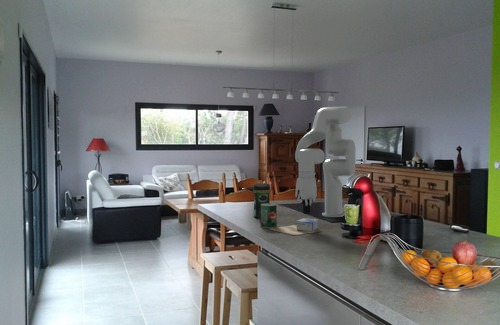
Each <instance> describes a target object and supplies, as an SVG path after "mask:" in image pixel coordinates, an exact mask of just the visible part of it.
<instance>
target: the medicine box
mask: <svg viewBox="0 0 500 325" xmlns="http://www.w3.org/2000/svg"><path fill="white" fill-rule="evenodd" d="M296 225H297V230H303V231H314V230H319V219H318V218H317V219H316V218H304V217H303V218H300V219H297V220H296Z"/></svg>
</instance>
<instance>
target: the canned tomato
mask: <svg viewBox="0 0 500 325" xmlns="http://www.w3.org/2000/svg"><path fill="white" fill-rule="evenodd" d="M277 209H278V208H277V203H273V202H271V203H264V204H261V218H260V228H263V229H270V228H277V227H278V226H277V225H278V221H277V220H278V218H277V216H278V215H277Z"/></svg>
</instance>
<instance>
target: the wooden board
mask: <svg viewBox="0 0 500 325" xmlns="http://www.w3.org/2000/svg"><path fill="white" fill-rule="evenodd" d="M269 230H270V231H273V232H279V233H281V234H286V235H290V236H293V237H296V236H300V235H301V236H302V235H307V234H313V233H319V232H320V233H321V230H319V229H316V230H314V231H303V230H297V224H291V225H286V226H280V227H278V226H277V227H275V228H269Z"/></svg>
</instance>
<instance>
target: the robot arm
mask: <svg viewBox="0 0 500 325" xmlns="http://www.w3.org/2000/svg"><path fill="white" fill-rule="evenodd" d="M351 112H352V111H351V109H350V108H349V106H326V107H321V108H320V109H318V110H317V111H316V113H315V116H314V120H313V122H312V127H311V130H310V131H308V132H307V133H306V134H305V135H304V136H303V137H301V138H300V140H299V141H298V143H297V145H296V146H297V147H296V149H295V154H294V158H295V161H296V162H297V164H298V178H297V179H296V184H295V199H297V200H296V201H297V202H298V203H301V205H302V212H303V214H305V215H310V214H311V206H312V203H313V202H314V201H316V198H317V195H318V189H317V187H318V186H317V181H316V177H315V175H316V171H315V168H316V167H315V165H318V164H319V165H320V164H322V169H323V170H322V171H323V175H324V176H323V177H324V212H322V213H321V216H322V217H325V218H344V217H345V216H344V213H345V211H344V208H345V207H343V183H342V181H341V179H340V178H339V177H352V175H353V176H354V175H355V173H356V145H355V144H356V143H355V141H354V140H353V139H351V138H342V137H343V135H342V134H343V133H342V128H341V126H340V125H343V124H345V123H349V121H350V120H351V116H352V113H351ZM323 140H325V152H326V154H327V155H328V156H331V157H344V158H327V159H325V158H326V156H325V152H324V151H323V150H322V149H321V148H308V147H310V146H312V145H313V144H316V143H318V142H321V141H323ZM343 216H344V217H343Z"/></svg>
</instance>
